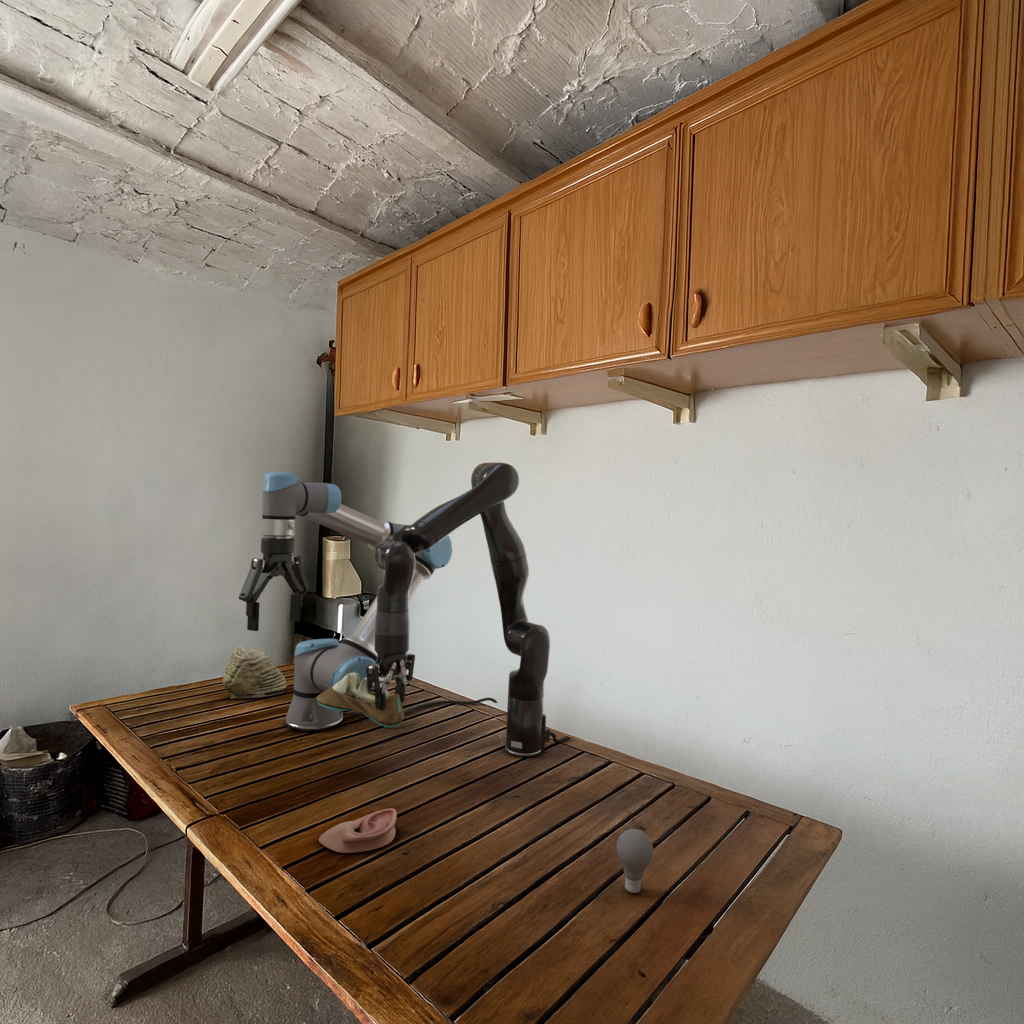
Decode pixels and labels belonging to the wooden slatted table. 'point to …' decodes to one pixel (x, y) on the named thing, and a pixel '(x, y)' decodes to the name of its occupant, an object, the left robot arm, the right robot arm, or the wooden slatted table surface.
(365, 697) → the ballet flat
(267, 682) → the fossil
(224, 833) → the wooden slatted table surface
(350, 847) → the anatomical model
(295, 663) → the left robot arm
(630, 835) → the light bulb
